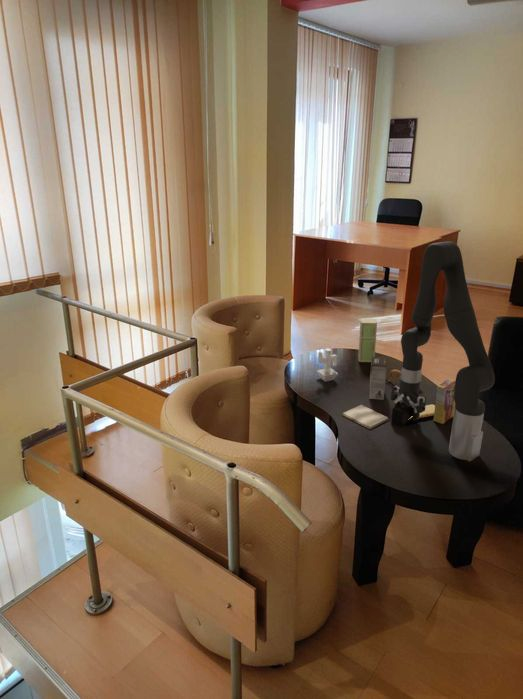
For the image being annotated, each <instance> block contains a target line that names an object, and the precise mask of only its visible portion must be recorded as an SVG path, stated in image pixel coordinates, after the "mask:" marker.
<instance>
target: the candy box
mask: <svg viewBox="0 0 523 699" xmlns="http://www.w3.org/2000/svg"><path fill="white" fill-rule="evenodd" d="M455 381H456V380H453V379H449V378H448V379H446V380H444V382H443V381H442V382H441V383H440V384H438V385H437V387H436V394H435V401H434V402H435V403H434V411H433V412H434V413H433V421H434V422H436V423H439V424H441V425H444V424H445V423H446V422H447V421H449V420H450V419H453V417H454V411H455V400H454V391H455Z"/></svg>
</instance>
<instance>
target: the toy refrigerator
mask: <svg viewBox="0 0 523 699" xmlns="http://www.w3.org/2000/svg"><path fill="white" fill-rule="evenodd" d="M377 326H378V320H377V318H366V317H365V318H364V317H361V318H360V321H359V338H358V339H359V340H358V356H357V357H358V362H359V363H371V361H372V357H376V345H377V330H378V327H377Z"/></svg>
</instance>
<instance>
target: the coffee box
mask: <svg viewBox="0 0 523 699" xmlns="http://www.w3.org/2000/svg"><path fill="white" fill-rule="evenodd" d="M387 359H388V358H387V357H384V356H383V357H382V356H380V357H379V356H375V357H372V361H371V362H370V363H371V364H370V375H369V390H368V391H369V394H368V398H369V399H370V400H380V401H381V400H382V401H384V400H385V391H386V382H387V381H386V380H387V370H388V369H387V366H388V360H387ZM385 381H386V382H385Z"/></svg>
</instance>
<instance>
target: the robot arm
mask: <svg viewBox="0 0 523 699" xmlns="http://www.w3.org/2000/svg"><path fill="white" fill-rule="evenodd" d="M441 271H443V275H444V278H445V284H446V290H445V296H444V301H443V313H444V314H443V315H444V319H445V322H446V326H447V330H448V332H450V334H451V336H453V338H454V339H455V341H457V343H458V344H459V345H460V346H461V347H462V348H463V350H464V351H465V354H466V358H467V360H468V364H469V365H468V366H464V367H462V368H460V369H459V370H458V372H457V373H456V376H455V380H454V381H455V391H454V400H455V407H454V416H453V417H452V424H451V432H450V438H449V443H448V444H449V445H448V452H449V454H450V455H451V456H452V457H454V458H456V459H459V460H463V461H468V462H472V461H473V460H475V459H476V458H477V457H479V456H480V453H481V446H482V441H483V435H484V431H483V430H482V426H483V423H484V422H483V421H484V415H485V410H486V404H485V402H484V401H482V400H481V399H480V397H479V396H480V393H481V392H485V391H487V390H490V389H491V388H493V386H494V385H495V381H496V380H495V379H496V377H495V376H496V375H495V371H494V368H493V365H492V363H491V361H490V358H489V356H488V353H487V351H486V347H485V345H484V342H483V337H482V336H481V335H482V334H481V331H480V327H479V324H478V320H477V317H476V313H475V309H474V306H473V305H474V304H473V303H472V299H471V295H470V292H469V287H468V284H467V279H466V273H465V268H464V260H463V256H462V251H461V250H460V246H459V245H458V244H457V243H455V242H454V241H450V240H449V241H442V242H441V241H439V242H433V243H431V244H428V246H427V247H426V248H425V250H424V252H423V255H422V262H421V270H420V277H419V284H418V291H417V296H416V300H415V303H414V307H413V310H412V315H411V321H412V323H413V324H414V327H412V328H410V329H407V330H405V331H404V332H403V334H402V336H401V338H400V339H401V340H400V343H401V344H400V345H401V350H402V356H403V357H402V363H401V364H402V365H401V366H402V367H401V370H400V371H401V376H400V378H399V384H398V385H397V384H396V385H393V386H392V387H391V392H390V394H391V395H390V400H391V401H393V402H394V406H393V407H395V406H397V405H398V404H400V403H401V402H403V401H404V402H407V403H408V404H410V405H411V407H413V409H414V411H415V412H414V415H413V419H412V421H414V422H416V421H417V420H419V419H420V414H422V413H424V412H425V411H426V403H427V397H426V396H420V389H421V383H422V382H421V380H422V375H423V374H422V372H423V370H422V368H423V361H424V356H423V354H422V352H420V351H418V347H421V346H424V345H426V344H427V343H428V342H429V340H430V338H431V335H432V320H433V318H434V314H435V312H436V308H437V302H438V301H437V300H438V298H437V293H436V283H437V279H438V276H439V274H440V273H441ZM398 393H399V396H398ZM414 402H415V404H414ZM416 407H417V408H416Z"/></svg>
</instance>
